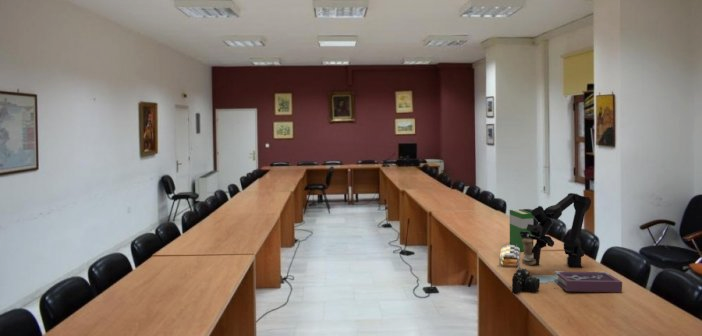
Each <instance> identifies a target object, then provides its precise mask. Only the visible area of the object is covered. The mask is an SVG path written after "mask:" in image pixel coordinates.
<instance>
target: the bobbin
mask: <svg viewBox="0 0 702 336" xmlns="http://www.w3.org/2000/svg"><path fill="white" fill-rule="evenodd" d="M522 242H523V248H524V253H523V258H522V259H521V263H522V265H525V266H529V265H534V264H536V260H535V259H534V256H533V253H532V249H533V248H532V242H533V243H534V240H532V239H531V238H524V239H523V240H522Z"/></svg>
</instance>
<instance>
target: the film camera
mask: <svg viewBox="0 0 702 336" xmlns="http://www.w3.org/2000/svg"><path fill="white" fill-rule="evenodd" d="M530 274H531V272H530V270H528V269H527V268H525V267H524V268H522V267H518V268H517V270H515V272H514V273H513V276H512V280H511V281H512V282H511V284H512V285H511V294H514V295H515V294H516V295H517V294H519V293H521V292H525V291H527V292H534V293H535V292H536V293H537V292H538V291H539V289H540V284H541V283H540V280H539V279H538V278H536V277H532V275H530Z"/></svg>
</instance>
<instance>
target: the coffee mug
mask: <svg viewBox="0 0 702 336" xmlns="http://www.w3.org/2000/svg"><path fill="white" fill-rule="evenodd" d="M534 246H535V245H533V246H532V248H533V247H534ZM541 251H542V248H541V249H539V250H537V251H536V252H534V253H533V256H534V259H535V260H536V264H534V265H528V266H531V267H538V266H539V265H540V258H541Z"/></svg>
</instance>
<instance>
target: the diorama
mask: <svg viewBox="0 0 702 336" xmlns="http://www.w3.org/2000/svg"><path fill="white" fill-rule="evenodd" d="M520 256H521V252H520V248H518V247H517V245H516V247H515V246H514V245H510V244H506V246H502V247H501V249H500V255H499V266H500V267H501V268H502V267H503V265H504V260H505V258H510V257H512V259H513V258H515V259H517V261H516V268H517V269H519V268H520Z"/></svg>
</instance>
